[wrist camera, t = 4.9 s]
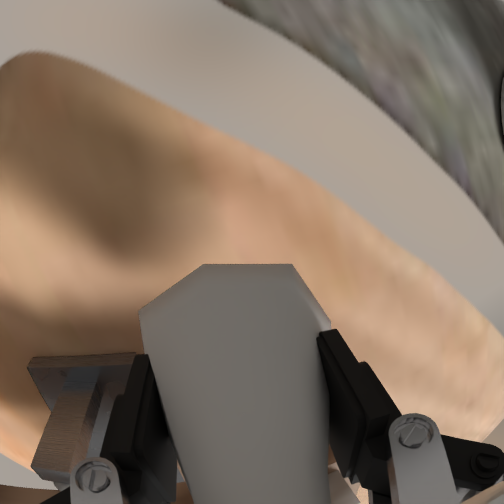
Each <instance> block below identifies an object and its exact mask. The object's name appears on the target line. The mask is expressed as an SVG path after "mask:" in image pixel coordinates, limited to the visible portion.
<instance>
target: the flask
mask: <svg viewBox="0 0 504 504" xmlns="http://www.w3.org/2000/svg"><path fill="white" fill-rule="evenodd" d="M138 313H139V321H140V328H141V334H142V341H143V347H144V353H145V354H148V355H149V358H150V363H151V366H152V369H153V372H154V376H155V380H156V385H157V389H158V394H159V398H160V402H161V406H162V410H163V414H164V418H165V422H166V426H167V430H168V434H169V437H170V440H171V443H172V446H173V449H174V452H175V455H176V457H177V460H178V463H179V466H180V468H181V471H182V473H183V476H184V479H185V481H186V484H187V486H188V489H189V491H190V494H191V496H192V498H193V502H194V504H331V496H330V488H329V479H328V452H329V416H330V394H329V390H328V386H327V382H326V377H325V373H324V369H323V365H322V361H321V356H320V352H319V348H318V344H317V340H316V338H317V337H318V336H319V332H321V331H326V330H331V321H330V319H329V318H328V316H327V315H326V313H325V312H324V310H323V309H322V307H321V306H320V304H319V303H318V301H317V300H316V298H315V297H314V296H313V294H312V293H311V291H310V290H309V288H308V287H307V285H306V284H305V282H304V281H303V279H302V278H301V276H300V275H299V273H298V272H297V271H296V269H295V268H294V266H293V265H292V264H203V265H201V266H200V267H199V268H197V269H196V270H194V271H193V272H192V273H190V274H189V275H187V276H186V277H185V278H183V279H182V280H180V281H179V282H178V283H176V284H175V285H173V286H172V287H171V288H169V289H168V290H166V291H165V292H164V293H162V294H161V295H159V296H158V297H157V298H155V299H154V300H153V301H151V302H150V303H148V304H147V305H146V306H144V307H143V308H141V309H140V310H139V311H138Z"/></svg>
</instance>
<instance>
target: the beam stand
mask: <svg viewBox="0 0 504 504" xmlns="http://www.w3.org/2000/svg"><path fill="white" fill-rule="evenodd" d="M135 355H137V354H136V352H133V353H120V354H106V355H90V356H68V357H33V358H32V360H31V361H30V363H29V364H28V366H27V369H28V371H29V373H30V375H31V377H32V379H33V381H34V382H35V384H36V386H37V388H38V390H39V392H40V393H41V395H42V397H43V399H44V400H45V402H46V404H47V405H48V407H49V409H50V410H51V415H50V417H49V419H48V422H47V424H46V427H45V429H44V432H43V434H42V437H41V439H40V442H39V445H38V447H37V450H36V453H35V455H34V458H33V461H32V464H31V468H32V469H33V470H34V471H35V472H36V473H37V474H38V475H39V476H40V478H41V479H43V480H48V481H54V482H60V483H66V484H70V475H71V472H72V470H73V468H74V467H75V466H76V465H77V464H78V463H79V462H80V461H82V460H84V459H86V458H90V457H99V456H100V452H101V448H102V444H103V440H104V436H105V433H106V429H107V425H108V422H109V418H110V414H111V411H112V407H113V404H114V401H115V398H116V396H117V395H118V394H124V392H125V388H126V384H127V381H128V377H129V374H130V370H131V367H132V364H133V360H134V357H135ZM180 482H186V481H185V479H184V476H183V473H182V471H181V468H180V466H179V463H178V460H177V483H180Z"/></svg>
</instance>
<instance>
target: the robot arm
mask: <svg viewBox="0 0 504 504" xmlns="http://www.w3.org/2000/svg"><path fill="white" fill-rule="evenodd" d="M501 116H502V126H503V133H504V78H503V82H502V90H501ZM316 340H317V344H318V348H319V352H320V356H321V361H322V365H323V369H324V373H325V377H326V382H327V386H328V390H329V394H330V416H329V444H330V447H331V450H332V452H333V455H334V457H335V460H336V462H337V465H338V467H339V470H340V473H341V475H342V477H343V478H347V477H348V478H349V480H350V483H351V485H352V484H355V483H359V482H360V484H361V486H362V488H365V489H368V497H369V504H504V453H503V452H502V450H501V449H499V448H498V447H496V446H494V445H491V444H485V443H480V442H474V441H469V440H464V439H459V438H455V437H450V436H446V435H441V434H440V432H439V429H438V427H437V425H436V423H435V422H434V421H433V420H432V419H431V418H429V417H427V416H425V415H422V414H417V413H412V414H406V415H402V414H401V413H400V411H399V410H398V408H397V406H396V405H395V403H394V402H393V400H392V399H391V397H390V396H389V394H388V393H387V391H386V390H385V388H384V387H383V385H382V384H381V382H380V381H379V379H378V378H377V376H376V375H375V373H374V372H373V370H372V369H371V367H370V366H369V364H368V363H367V362H365V361H364V362H360V363H358V361H357V359H356V358H355V356H354V355H353V353H352V352H351V350H350V349H349V347H348V345H347V344H346V342H345V341H344V339H343V338H342V336H341V335H340V333H339V332H338V330H337V329H332V330H326V331H321V332H319V336H318V337H317V338H316ZM176 487H177V457H176V455H175V452H174V449H173V446H172V443H171V440H170V437H169V434H168V430H167V426H166V422H165V418H164V414H163V410H162V406H161V402H160V398H159V394H158V389H157V385H156V380H155V376H154V372H153V369H152V366H151V363H150V358H149V355H148V354H141V355H135V357H134V360H133V364H132V367H131V370H130V374H129V377H128V381H127V384H126V388H125V392H124V394H118V395H117V396H116V398H115V401H114V404H113V407H112V411H111V414H110V418H109V422H108V425H107V429H106V433H105V436H104V440H103V444H102V448H101V452H100V456H99V457H90V458H86V459H84V460H82V461H80V462H79V463H78V464H77V465H76V466H75V467H74V468H73V470H72V472H71V475H70V486H69V487H68V488H66V489H64V490H62V491H61V492H59V493H57V494H56V495H54V496H52V497H50V498H49V499H47V500H45V501H43V502H41V503H40V504H171V502H175V501H176Z"/></svg>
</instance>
